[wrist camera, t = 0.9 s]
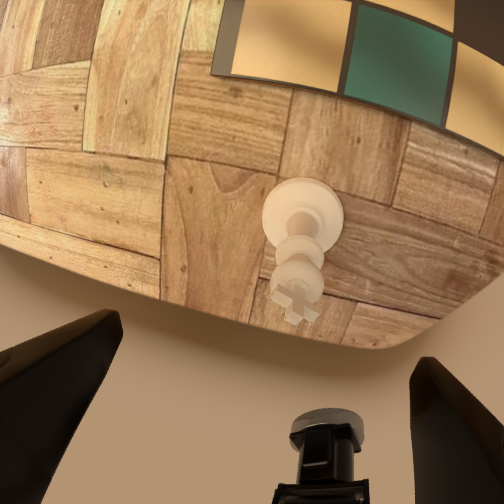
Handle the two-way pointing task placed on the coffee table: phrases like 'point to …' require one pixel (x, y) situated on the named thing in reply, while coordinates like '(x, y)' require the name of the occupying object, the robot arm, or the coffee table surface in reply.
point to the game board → (378, 57)
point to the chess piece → (300, 242)
